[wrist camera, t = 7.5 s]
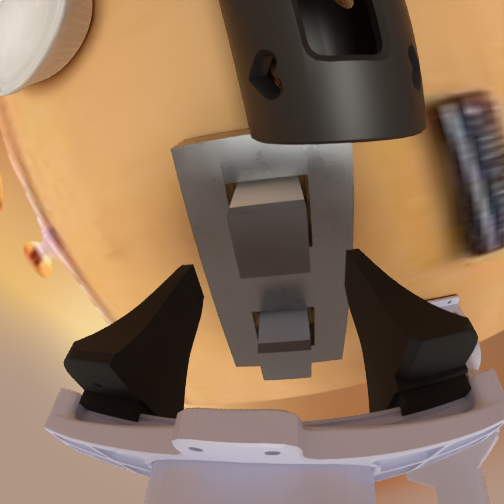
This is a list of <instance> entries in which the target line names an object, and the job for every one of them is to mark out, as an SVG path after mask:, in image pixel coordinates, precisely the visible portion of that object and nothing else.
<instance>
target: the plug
mask: <svg viewBox="0 0 504 504" xmlns="http://www.w3.org/2000/svg"><path fill="white" fill-rule="evenodd" d="M226 217H227V222H228V226H229V231H230V235H231V240H232V244H233V248H234V253H235V257H236V262H237V266H238V270H239V275H240V279H244V278H256V277H267V276H278V275H289V274H299V273H310V255H309V238H308V223H307V210H306V204H305V200H304V197H303V193H302V189H301V186H300V182H299V179H298V175H296V176H286V177H277V178H268V179H259V180H251V181H243V182H238V183H237V186H236V189H235V192H234V195H233V198H232V201H231V203H230V206H229V209H228V212H227V215H226Z"/></svg>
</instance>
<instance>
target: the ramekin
mask: <svg viewBox="0 0 504 504" xmlns="http://www.w3.org/2000/svg"><path fill="white" fill-rule="evenodd" d="M91 16H92V0H0V96H7V95H11V94H14V93H17V92H19V91H21V90H22V89H24V88H25V87H27V86H30V85H32V84H35V83H38V82H40V81H43V80H45V79H48V78H50V77H51V76H52V75H55V74H56V73H57V72H58V71H60V70H61V69H62V68H63V67H64V66H66V65H67V63H68V62H69V61H70V60H71V59H72V58H73V56H74V55H75V54H76V52H77V51H78V49H79V48H80V46H81V44H82V42H83V41H84V39H85V36H86V34H87V32H88V29H89V25H90V22H91Z"/></svg>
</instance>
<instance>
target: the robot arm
mask: <svg viewBox="0 0 504 504" xmlns="http://www.w3.org/2000/svg"><path fill="white" fill-rule="evenodd" d="M344 286H345V291H346V296H347V301H348V305H349V308H350V311H351V314H352V317H353V320H354V323H355V326H356V329H357V333H358V336H359V339H360V343H361V347H362V352H363V358H364V364H365V371H366V378H367V386H368V396H369V410H370V413H367V414H362V415H355V416H349V417H342V418H334V419H326V420H316V421H304V422H302V420H301V419H300V418H299V417H298V416H297V415H296V414H294V413H291V412H288V411H285V410H273V409H211V408H186V409H184V397H185V386H186V377H187V369H188V363H189V357H190V353H191V349H192V345H193V342H194V338H195V335H196V331H197V328H198V324H199V321H200V317H201V313H202V307H203V299H204V295H203V292H202V289H201V286H200V284H199V281H198V277H197V274H196V271H195V268H194V265H193V264H192V265H182V266H180V267H179V268H178V269H177V270H176V271H175V272H174V273H173V274H172V275H171V276H170V277H169V278H168V279H167V280H166V281H165V282H164V283H162V284H161V285H160V286H159V287H158V288H157V289H156V290H155V291H154V292H153V293H152V294H151V295H150V296H149V297H148V298H146V299H145V300H144V301H143V302H142V303H141V304H140V305H138V306H137V307H136V308H134V309H133V310H132V311H130V312H129V313H128V314H126V315H125V316H123V317H122V318H120V319H119V320H117V321H116V322H114V323H113V324H111V325H109V326H108V327H106V328H104V329H102V330H100V331H98V332H96V333H94V334H92V335H90V336H87V337H85V338H83V339H81V340H78V341H75V342H74V343H73V345H72V347H71V349H70V351H69V353H68V354H67V356H66V358H65V360H64V366H65V368H66V370H67V372H68V373H69V374H70V375H71V377H72V378H73V379H75V381H76V382H77V383H78V384H79V385H80V386H81V387H82V388H83V389H84V393H83V395H81V394H79V393H77V392H75V391H71V390H68V389H65V388H61V389H60V392H59V394H58V396H57V398H56V400H55V402H54V405H53V407H52V409H51V411H50V414H49V416H48V418H47V421H46V423H45V426H44V429H45V430H47V431H48V432H49V433H51V434H52V435H54V436H55V437H56V438H58V439H60V440H61V441H63V442H64V443H65V444H67V445H68V446H70V447H71V448H73V449H74V450H76V451H79V452H81V453H84V454H86V455H88V456H91V457H93V458H96V459H99V460H101V461H104V462H106V463H109V464H111V465H114V466H117V467H120V468H123V469H126V470H128V471H132V472H135V473H138V474H141V475H144V476H148V477H150V478H149V482H148V487H147V491H146V496H145V501H144V504H376V500H375V487H374V482H376V481H380V480H384V479H387V478H391V477H394V476H397V475H401V474H404V473H405V475H406V477H407V479H408V480H410V481H413V482H416V483H420V484H424V485H427V486H431V487H434V488H436V492H437V497H438V502H439V504H490V503H489V496H488V491H487V486H486V481H485V477H484V472H483V468H482V463H483V462H484V460H485V459H486V457H487V456H488V454H489V453H490V451H491V450H492V448H493V447H494V445H495V443H496V442H497V440H498V438H499V431H500V427H501V426H502V425H503V424H504V392H503V389H502V387H501V384H500V382H499V379H498V377H497V375H496V373H495V370H494V369H490V370H487V371H485V372H483V373H481V372H480V371H479V370H478V369H479V366H480V362H481V351H480V346H479V342H478V336H477V333H476V331H475V330H474V328H473V326H472V324H471V322H470V321H469V319H468V318H467V317H465V315H464V313H463V312H462V310H461V308H460V307H459V305H458V302H459V299H460V298H459V296H458V295H455V296H450V297H446V298H440V299H435V300H430V301H425V300H424V299H422V298H420V297H418V296H416V295H415V294H413V293H412V292H410V291H409V290H407V289H406V288H404V287H403V286H401V285H400V284H398V283H397V282H396V281H395V280H393V279H392V278H391V277H389V276H388V275H387V274H386V273H385V272H383V271H382V270H381V269H380V268H379V267H378V266H377V265H375V264H374V263H373V262H372V261H371V260H370V259H369V258H368V257H367V256H366V255H365V254H364V253H363V252H361V251H360V250H359V249H352V250H346V263H345V283H344Z"/></svg>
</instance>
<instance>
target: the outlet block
mask: <svg viewBox="0 0 504 504" xmlns="http://www.w3.org/2000/svg"><path fill="white" fill-rule="evenodd" d="M171 152H172V156H173V160H174V164H175V168H176V172H177V176H178V180H179V184H180V187H181V191H182V195H183V199H184V203H185V206H186V210H187V214H188V217H189V221H190V224H191V228H192V231H193V235H194V238H195V242H196V245H197V249H198V252H199V255H200V259H201V262H202V265H203V269H204V272H205V275H206V278H207V281H208V285H209V288H210V291H211V294H212V297H213V300H214V303H215V306H216V310H217V313H218V316H219V319H220V322H221V325H222V328H223V330H224V333H225V336H226V339H227V342H228V345H229V348H230V351H231V354H232V356H233V359H234V362H235V365H236V367H244V366H260V362H259V358H258V354H257V352H258V336H259V320H260V318H259V313H258V311H270V310H283V309H295V308H306V307H312V323H309V331H310V341H311V362H321V361H330V360H339V359H342V355H343V348H344V341H345V333H346V325H347V316H348V306H349V305H348V301H347V296H346V291H345V286H344V283H345V263H346V250H352V249H353V217H354V185H353V152H352V143H339V144H314V145H278V144H266V143H261V142H258V141H256V140H254V139H252V138H251V134H250V129H242V130H235V131H229V132H223V133H218V134H212V135H207V136H202V137H197V138H192V139H187V140H184V141H182V142H181V143H179V144H178V145H176V146H175V147H173V148H171ZM296 175H304V180H305V191H306V204H307V217H308V238H309V255H310V273H299V274H289V275H278V276H267V277H256V278H244V279H240V275H239V270H238V266H237V262H236V257H235V253H234V248H233V244H232V240H231V235H230V231H229V226H228V222H227V217H226V215H227V212H228V209H229V206H230V203H231V201H232V198H233V195H234V192H235V190H234V185H233V183H236V182H243V181H251V180H259V179H268V178H277V177H286V176H296Z"/></svg>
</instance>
